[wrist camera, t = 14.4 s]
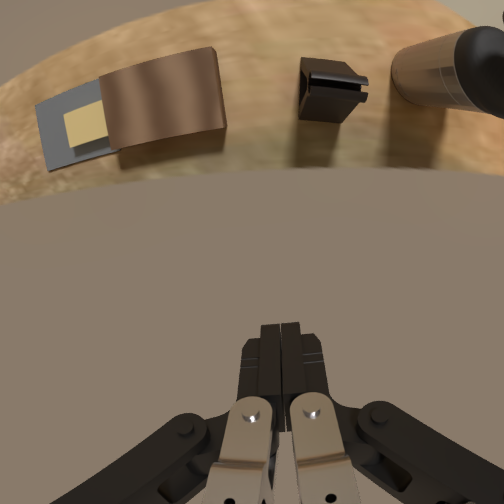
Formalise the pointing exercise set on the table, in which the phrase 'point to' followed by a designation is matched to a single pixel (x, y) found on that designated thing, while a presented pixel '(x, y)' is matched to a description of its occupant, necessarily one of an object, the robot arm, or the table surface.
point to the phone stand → (329, 90)
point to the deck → (163, 98)
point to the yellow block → (85, 124)
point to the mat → (55, 129)
